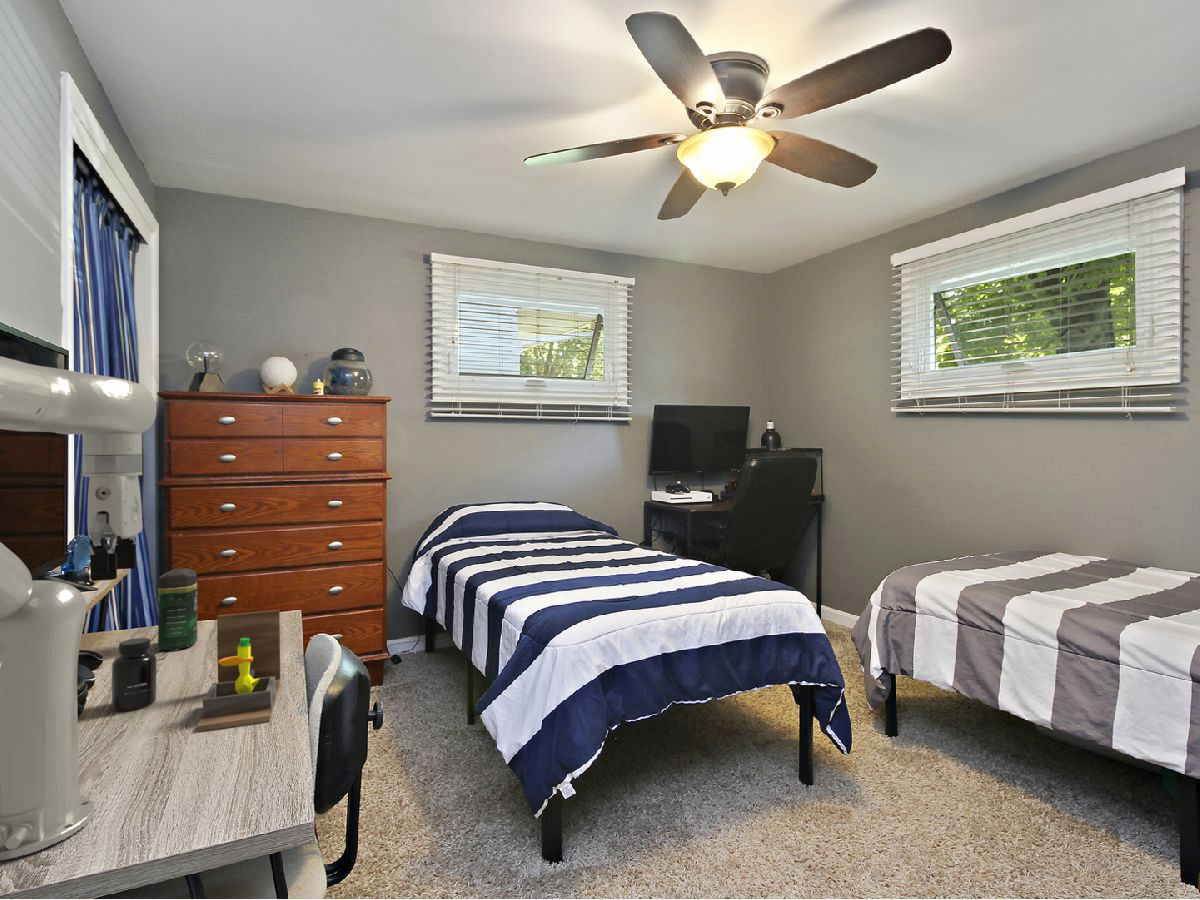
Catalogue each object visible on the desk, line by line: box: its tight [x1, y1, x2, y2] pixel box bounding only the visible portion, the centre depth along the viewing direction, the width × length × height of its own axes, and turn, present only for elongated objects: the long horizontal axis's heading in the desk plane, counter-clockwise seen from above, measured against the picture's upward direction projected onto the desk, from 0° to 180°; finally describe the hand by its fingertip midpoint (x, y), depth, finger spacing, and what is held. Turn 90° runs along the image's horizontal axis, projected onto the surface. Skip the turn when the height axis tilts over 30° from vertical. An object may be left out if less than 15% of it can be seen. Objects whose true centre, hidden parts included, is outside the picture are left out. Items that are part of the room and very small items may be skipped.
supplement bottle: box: [111, 637, 157, 712], centre depth 121 cm, size 7×7×12 cm
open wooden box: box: [196, 609, 281, 733], centre depth 121 cm, size 20×11×15 cm, turn 21°
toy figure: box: [217, 638, 260, 694], centre depth 119 cm, size 7×4×12 cm, turn 112°
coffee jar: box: [157, 567, 198, 651], centre depth 157 cm, size 10×8×19 cm
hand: (114, 574), depth 103 cm, fingers open, 9 cm apart
